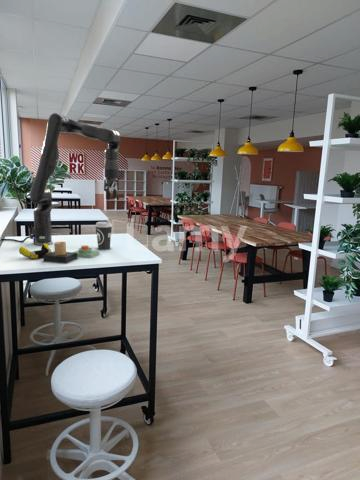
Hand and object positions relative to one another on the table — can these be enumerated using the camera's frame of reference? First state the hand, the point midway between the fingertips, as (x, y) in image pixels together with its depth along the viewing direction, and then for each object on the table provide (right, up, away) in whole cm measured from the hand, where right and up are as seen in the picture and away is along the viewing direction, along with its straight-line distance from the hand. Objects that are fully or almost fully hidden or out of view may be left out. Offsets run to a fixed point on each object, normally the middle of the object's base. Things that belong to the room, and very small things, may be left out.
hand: (111, 198), depth 186 cm
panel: (-21, -32, -21) cm, 44 cm away
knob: (-21, -29, -21) cm, 42 cm away
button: (-12, -27, -10) cm, 32 cm away
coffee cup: (-6, -28, +7) cm, 29 cm away
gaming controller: (-34, -31, -16) cm, 49 cm away
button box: (-12, -31, -10) cm, 34 cm away
